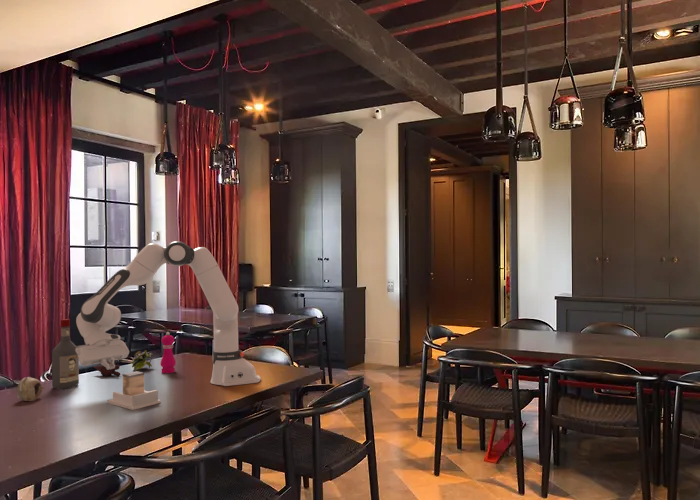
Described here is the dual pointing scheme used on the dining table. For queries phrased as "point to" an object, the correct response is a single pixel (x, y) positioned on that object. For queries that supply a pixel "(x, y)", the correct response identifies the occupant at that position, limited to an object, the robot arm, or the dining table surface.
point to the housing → (135, 399)
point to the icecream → (107, 372)
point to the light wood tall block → (133, 383)
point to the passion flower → (141, 360)
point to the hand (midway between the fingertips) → (111, 368)
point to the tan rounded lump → (29, 389)
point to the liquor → (65, 360)
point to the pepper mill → (168, 354)
